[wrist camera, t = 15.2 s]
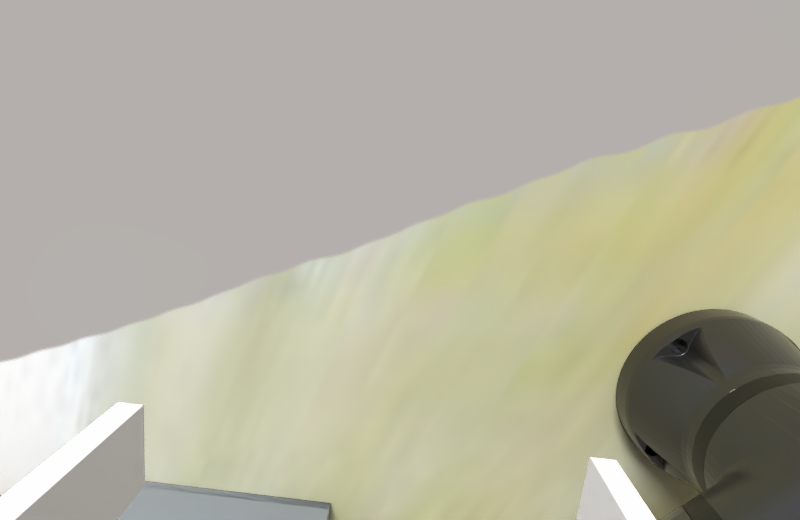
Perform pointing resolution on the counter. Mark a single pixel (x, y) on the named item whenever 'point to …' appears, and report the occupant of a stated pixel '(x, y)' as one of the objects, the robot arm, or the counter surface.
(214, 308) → the counter surface
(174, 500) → the grey box
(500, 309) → the counter surface
